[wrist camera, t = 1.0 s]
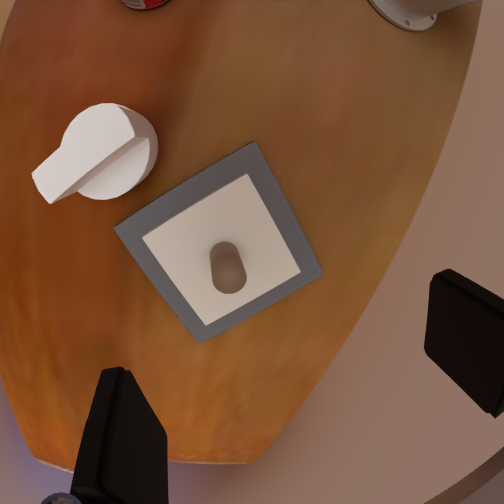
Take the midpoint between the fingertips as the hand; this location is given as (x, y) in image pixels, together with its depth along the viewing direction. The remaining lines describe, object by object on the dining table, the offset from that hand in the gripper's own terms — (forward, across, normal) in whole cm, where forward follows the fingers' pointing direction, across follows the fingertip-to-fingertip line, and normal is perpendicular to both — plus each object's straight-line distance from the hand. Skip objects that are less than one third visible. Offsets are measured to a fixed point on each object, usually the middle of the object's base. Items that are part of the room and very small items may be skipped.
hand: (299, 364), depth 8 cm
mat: (+28, +1, +5) cm, 29 cm away
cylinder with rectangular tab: (+28, +9, -9) cm, 31 cm away
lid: (+27, +1, +5) cm, 28 cm away
